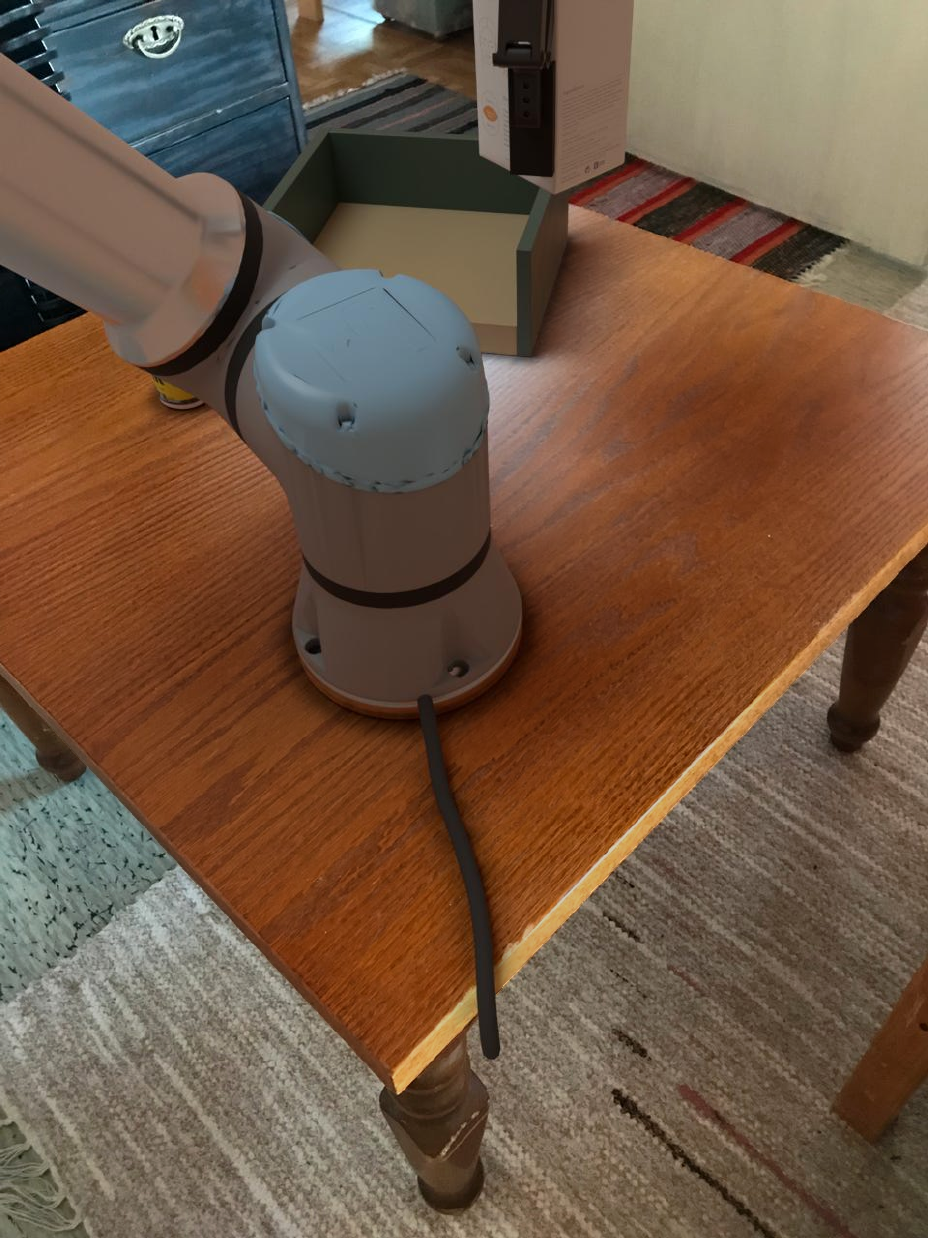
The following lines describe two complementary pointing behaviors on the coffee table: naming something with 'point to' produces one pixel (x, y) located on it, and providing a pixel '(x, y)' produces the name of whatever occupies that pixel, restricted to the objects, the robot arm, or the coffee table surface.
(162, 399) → the supplement bottle
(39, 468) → the coffee table surface
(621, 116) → the small box
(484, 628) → the robot arm
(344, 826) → the coffee table surface
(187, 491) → the coffee table surface
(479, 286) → the green open tray
